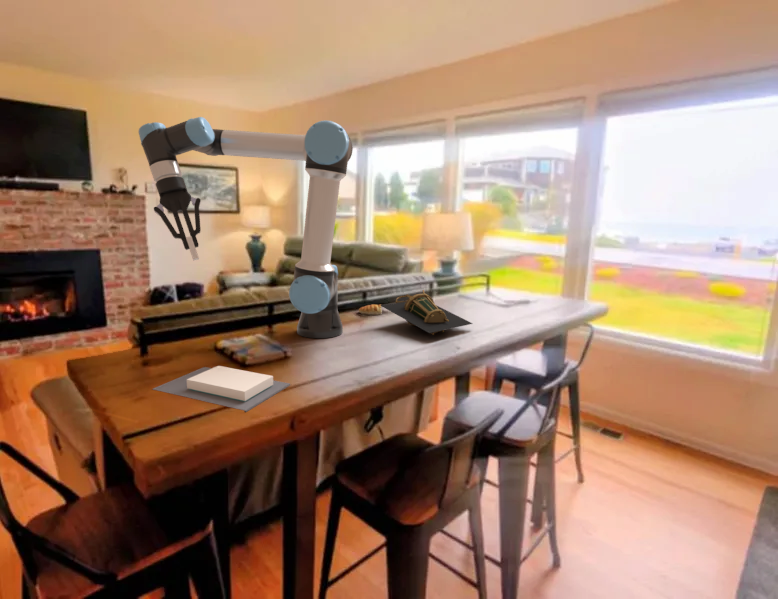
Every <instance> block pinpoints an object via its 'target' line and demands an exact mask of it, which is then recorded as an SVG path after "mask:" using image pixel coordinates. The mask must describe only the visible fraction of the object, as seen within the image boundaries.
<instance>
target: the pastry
mask: <svg viewBox="0 0 778 599" xmlns="http://www.w3.org/2000/svg"><path fill="white" fill-rule="evenodd" d="M380 305H382V304H374V303H373V304H367V305H365V306H361V307H360V308H359V309H358V312H359V313H360V314H362V315H369V316H370V315H372V316H373V315H374V316H382V314H383V309H382V306H380Z"/></svg>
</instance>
